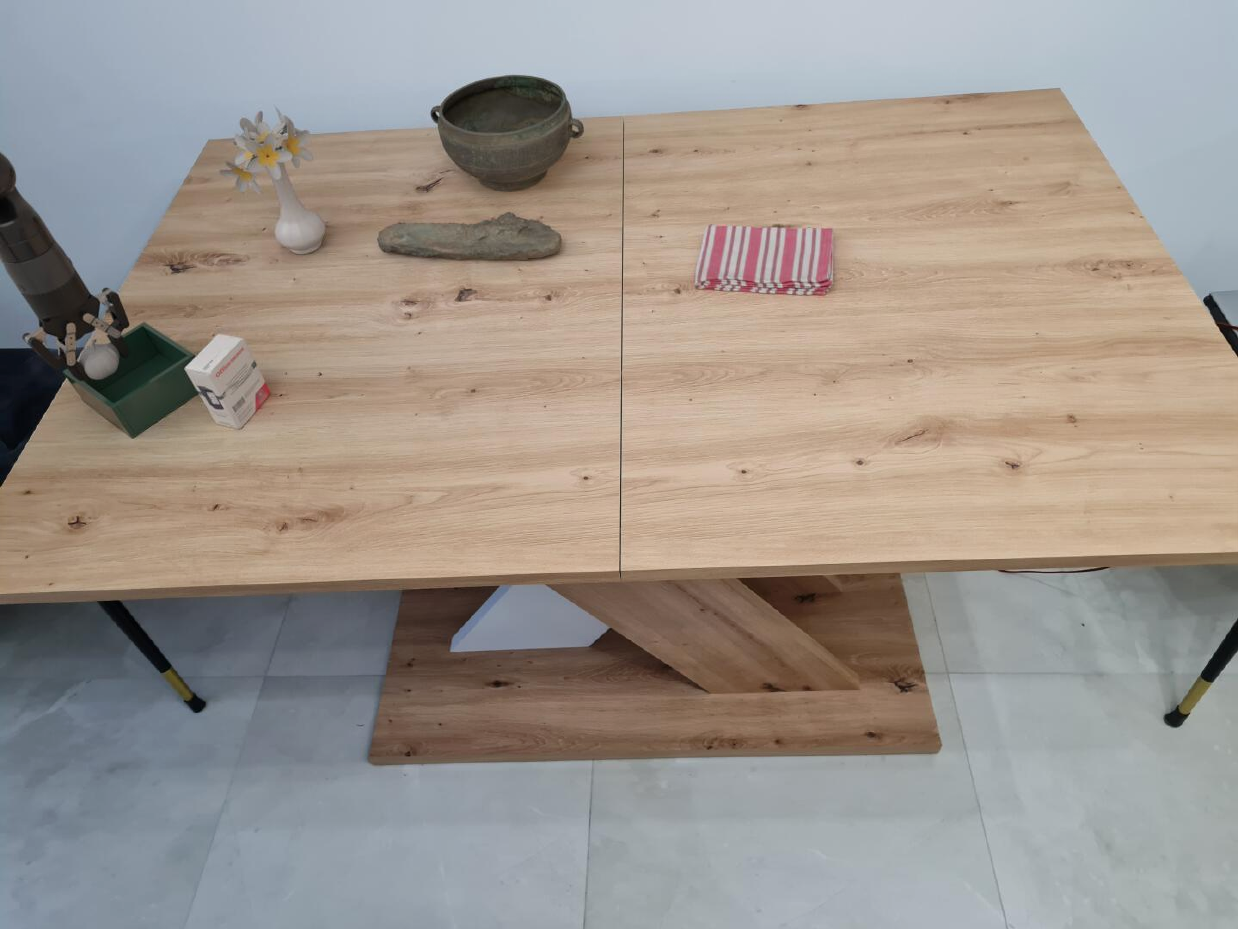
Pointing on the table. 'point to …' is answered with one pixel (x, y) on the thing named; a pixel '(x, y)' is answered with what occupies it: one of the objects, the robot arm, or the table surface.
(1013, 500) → the table surface
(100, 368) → the garlic
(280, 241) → the flower vase
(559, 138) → the bowl
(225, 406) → the ink box
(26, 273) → the robot arm
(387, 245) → the elongated rock
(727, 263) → the dish towel
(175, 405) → the green tapered tray
